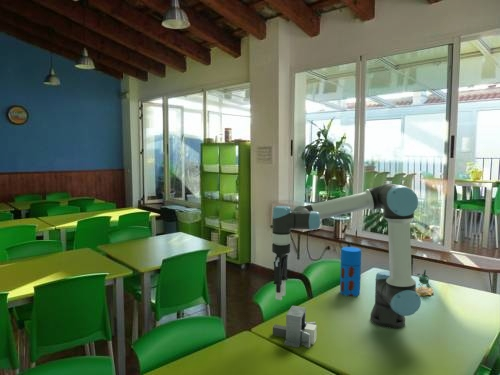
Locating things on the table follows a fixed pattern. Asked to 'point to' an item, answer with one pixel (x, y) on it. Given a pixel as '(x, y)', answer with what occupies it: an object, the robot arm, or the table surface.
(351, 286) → the thermos
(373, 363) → the table surface
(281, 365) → the table surface
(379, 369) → the table surface
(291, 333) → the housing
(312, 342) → the plug
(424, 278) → the frog figurine
